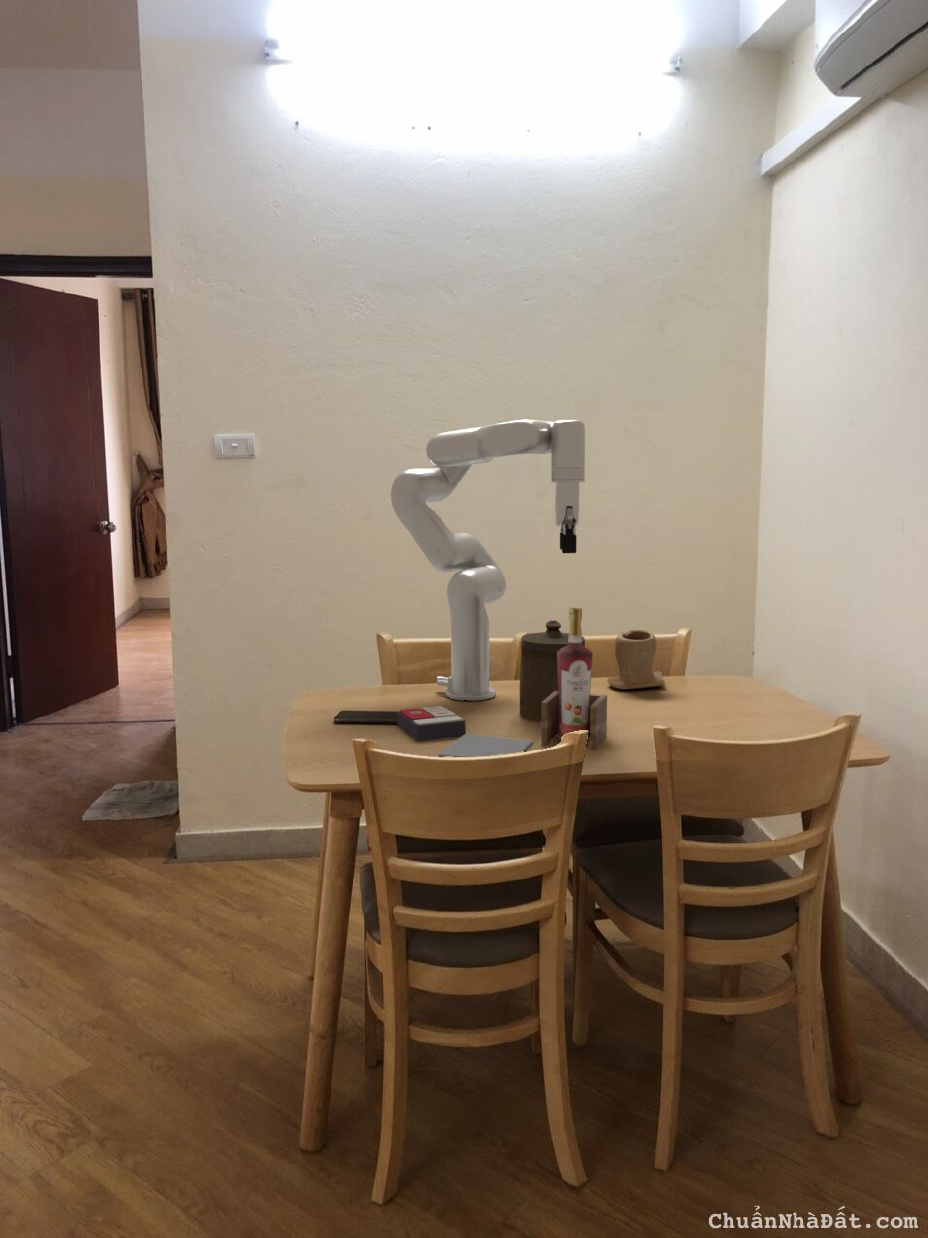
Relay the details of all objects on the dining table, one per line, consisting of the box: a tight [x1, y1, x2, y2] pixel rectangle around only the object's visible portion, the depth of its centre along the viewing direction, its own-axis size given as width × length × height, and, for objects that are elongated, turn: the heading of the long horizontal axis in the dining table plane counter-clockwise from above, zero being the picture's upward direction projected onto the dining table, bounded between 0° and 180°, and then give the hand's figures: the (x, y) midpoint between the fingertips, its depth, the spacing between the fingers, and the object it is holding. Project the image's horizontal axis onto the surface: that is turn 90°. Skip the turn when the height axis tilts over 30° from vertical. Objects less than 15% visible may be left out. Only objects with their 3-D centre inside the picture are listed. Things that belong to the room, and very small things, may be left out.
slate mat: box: [438, 733, 534, 757], centre depth 195 cm, size 15×15×1 cm
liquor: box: [556, 607, 594, 740], centre depth 199 cm, size 7×7×28 cm
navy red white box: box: [396, 705, 467, 742], centre depth 210 cm, size 11×4×15 cm
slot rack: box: [540, 691, 608, 751], centre depth 201 cm, size 11×10×9 cm
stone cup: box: [606, 629, 666, 690], centre depth 246 cm, size 15×12×15 cm
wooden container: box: [519, 619, 586, 723], centre depth 220 cm, size 15×15×22 cm
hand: (567, 551), depth 220 cm, fingers open, 9 cm apart
